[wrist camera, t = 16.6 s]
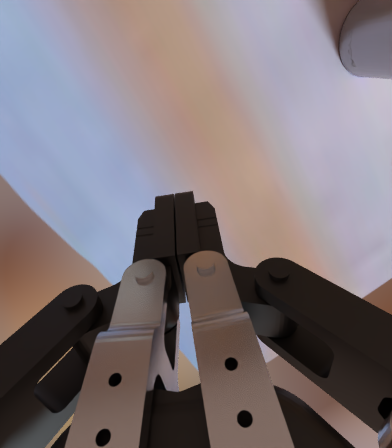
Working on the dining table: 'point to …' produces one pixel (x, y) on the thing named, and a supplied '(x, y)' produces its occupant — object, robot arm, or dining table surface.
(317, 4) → the dining table surface
